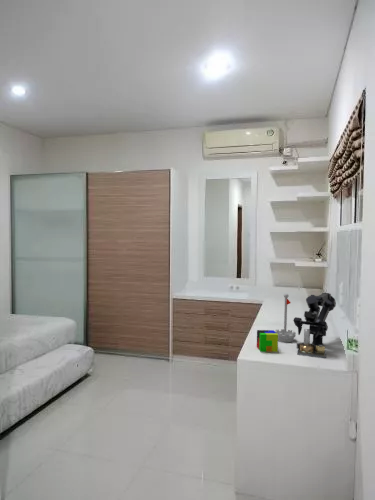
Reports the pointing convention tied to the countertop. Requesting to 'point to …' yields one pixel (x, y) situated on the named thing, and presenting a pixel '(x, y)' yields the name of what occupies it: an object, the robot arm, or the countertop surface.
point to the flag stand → (283, 334)
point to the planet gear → (306, 342)
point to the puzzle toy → (267, 341)
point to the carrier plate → (317, 352)
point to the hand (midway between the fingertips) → (306, 336)
